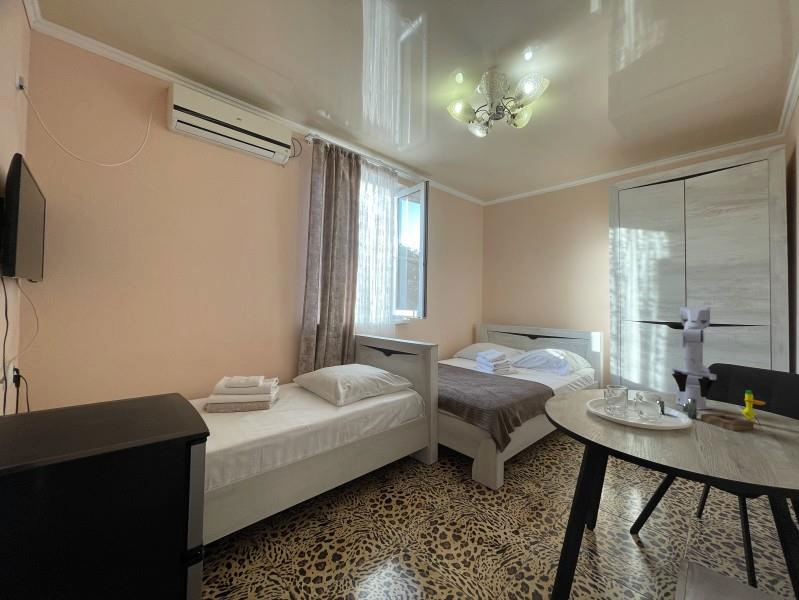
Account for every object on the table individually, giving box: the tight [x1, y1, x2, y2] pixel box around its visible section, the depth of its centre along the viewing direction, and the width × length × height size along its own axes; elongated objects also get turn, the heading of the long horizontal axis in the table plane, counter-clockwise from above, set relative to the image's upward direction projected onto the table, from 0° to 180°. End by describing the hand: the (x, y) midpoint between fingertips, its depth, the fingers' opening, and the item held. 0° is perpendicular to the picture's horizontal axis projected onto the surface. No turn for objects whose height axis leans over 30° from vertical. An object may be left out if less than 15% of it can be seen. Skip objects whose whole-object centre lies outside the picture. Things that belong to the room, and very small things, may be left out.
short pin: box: [682, 403, 688, 413], centre depth 136 cm, size 3×3×3 cm
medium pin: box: [655, 399, 665, 415], centre depth 133 cm, size 3×3×5 cm
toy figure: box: [739, 390, 766, 425], centre depth 123 cm, size 7×4×12 cm, turn 29°
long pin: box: [687, 398, 698, 420], centre depth 127 cm, size 3×3×8 cm
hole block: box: [700, 412, 755, 431], centre depth 121 cm, size 10×10×2 cm
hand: (692, 394), depth 127 cm, fingers open, 7 cm apart
